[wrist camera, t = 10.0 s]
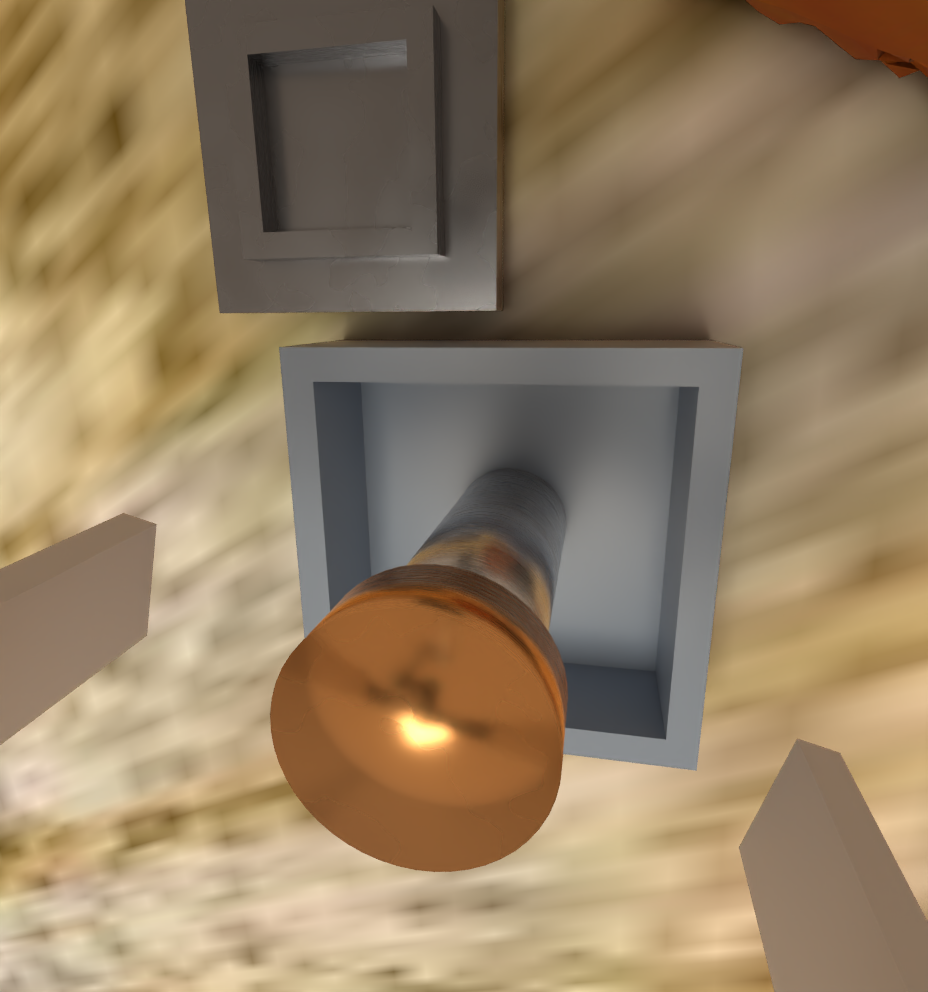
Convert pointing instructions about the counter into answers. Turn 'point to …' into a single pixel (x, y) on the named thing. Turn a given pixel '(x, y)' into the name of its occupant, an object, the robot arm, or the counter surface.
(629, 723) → the bin
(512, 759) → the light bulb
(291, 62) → the collar plate
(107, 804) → the counter surface
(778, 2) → the tool
